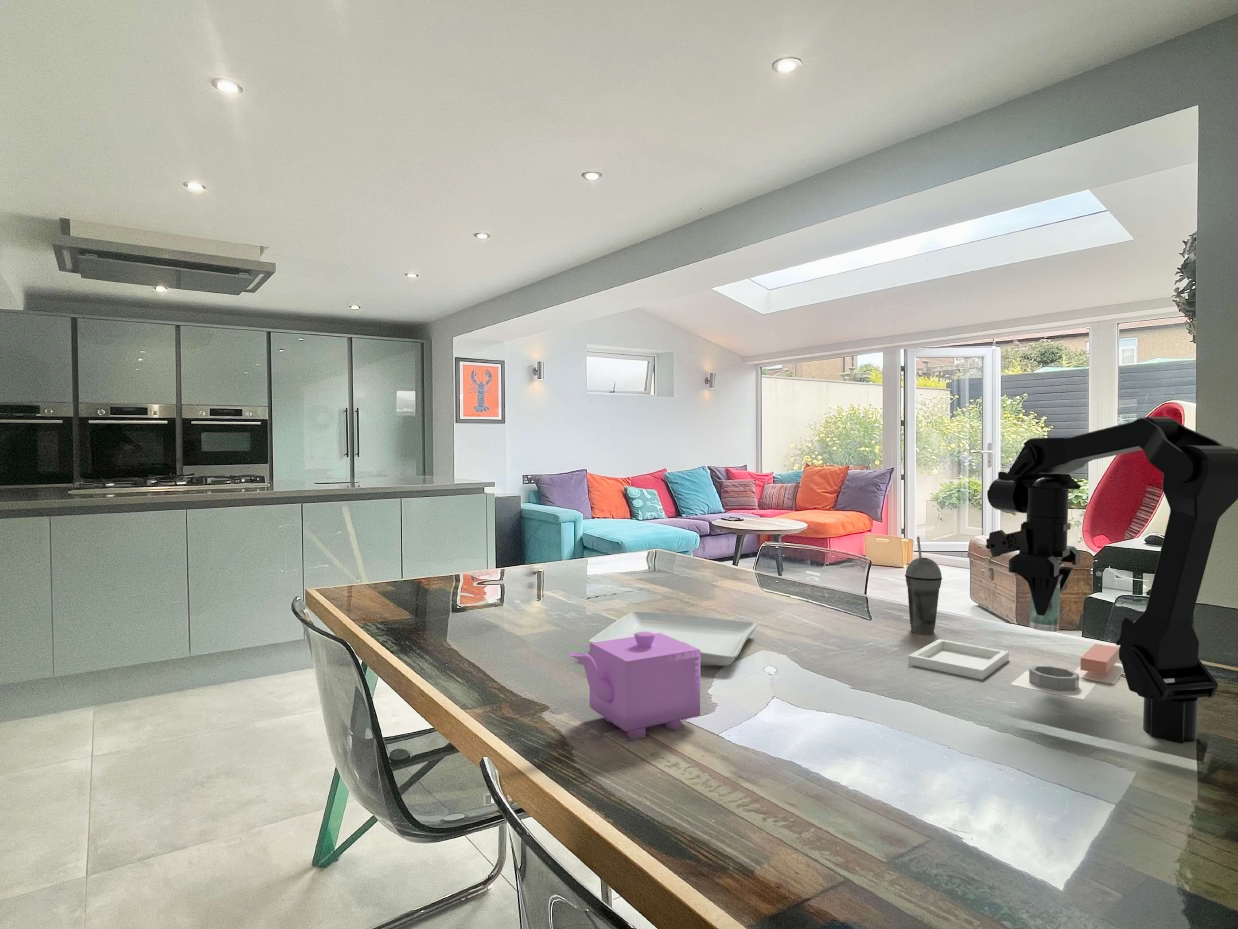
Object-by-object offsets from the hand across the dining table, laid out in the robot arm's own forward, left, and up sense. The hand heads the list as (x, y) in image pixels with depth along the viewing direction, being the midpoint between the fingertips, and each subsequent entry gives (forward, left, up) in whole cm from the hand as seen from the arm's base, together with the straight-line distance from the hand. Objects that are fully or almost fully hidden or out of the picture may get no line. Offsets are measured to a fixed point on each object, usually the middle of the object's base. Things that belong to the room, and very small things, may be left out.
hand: (1044, 612), depth 117 cm
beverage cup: (+23, +27, -12) cm, 38 cm away
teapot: (-57, +37, -12) cm, 70 cm away
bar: (+14, -6, -10) cm, 18 cm away
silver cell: (0, 0, -3) cm, 2 cm away
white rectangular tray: (+2, +13, -12) cm, 18 cm away
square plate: (-22, +57, -13) cm, 63 cm away
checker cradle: (+8, -3, -12) cm, 15 cm away
